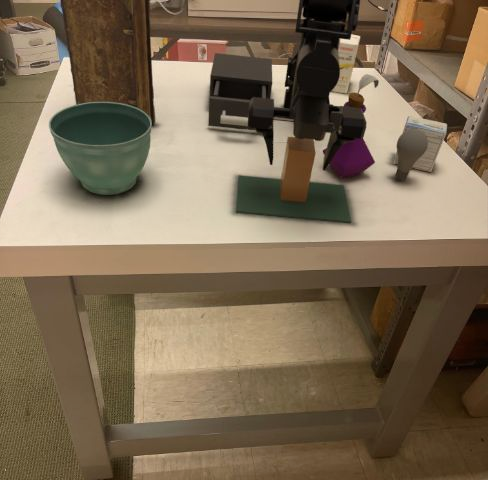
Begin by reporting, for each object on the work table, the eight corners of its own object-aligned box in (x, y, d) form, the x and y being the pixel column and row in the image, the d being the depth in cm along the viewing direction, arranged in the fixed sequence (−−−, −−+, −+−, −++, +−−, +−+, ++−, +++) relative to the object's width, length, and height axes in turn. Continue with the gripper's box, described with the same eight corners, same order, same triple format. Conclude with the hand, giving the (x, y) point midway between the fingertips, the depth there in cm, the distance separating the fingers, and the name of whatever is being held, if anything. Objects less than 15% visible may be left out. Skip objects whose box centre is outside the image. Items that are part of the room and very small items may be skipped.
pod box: (303, 188, 91) (313, 138, 84) (305, 202, 88) (315, 152, 81) (279, 185, 91) (287, 136, 84) (280, 200, 88) (288, 149, 81)
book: (73, 114, 105) (50, -27, 87) (95, 103, 109) (78, -33, 91) (137, 137, 100) (127, -7, 82) (157, 125, 105) (152, -14, 87)
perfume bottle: (340, 184, 94) (365, 86, 81) (318, 165, 99) (339, 70, 86) (371, 177, 97) (399, 82, 84) (348, 160, 101) (372, 66, 89)
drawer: (266, 141, 102) (269, 113, 98) (206, 135, 102) (207, 106, 97) (266, 106, 115) (269, 80, 110) (212, 100, 114) (214, 74, 110)
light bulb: (414, 189, 95) (433, 139, 88) (385, 183, 96) (402, 134, 89) (413, 175, 99) (431, 127, 92) (386, 170, 100) (401, 121, 93)
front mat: (343, 187, 94) (343, 185, 93) (350, 223, 85) (351, 221, 85) (238, 177, 93) (238, 175, 92) (235, 212, 84) (236, 210, 84)
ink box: (314, 88, 127) (323, 38, 119) (318, 77, 133) (327, 28, 125) (347, 94, 127) (359, 44, 118) (349, 82, 133) (360, 34, 124)
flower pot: (52, 205, 81) (39, 142, 73) (69, 157, 92) (58, 98, 84) (152, 208, 83) (149, 147, 75) (156, 161, 94) (153, 103, 86)
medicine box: (432, 164, 104) (448, 123, 97) (430, 173, 101) (447, 132, 94) (395, 155, 105) (408, 114, 99) (392, 164, 102) (406, 123, 96)
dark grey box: (268, 116, 113) (272, 81, 108) (209, 110, 112) (210, 75, 107) (267, 91, 123) (271, 58, 118) (213, 86, 123) (215, 52, 117)
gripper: (252, 84, 68) (242, 185, 79) (384, 98, 69) (356, 196, 80) (253, 57, 76) (244, 152, 87) (372, 70, 77) (348, 163, 88)
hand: (297, 166), depth 85 cm, fingers open, 9 cm apart
